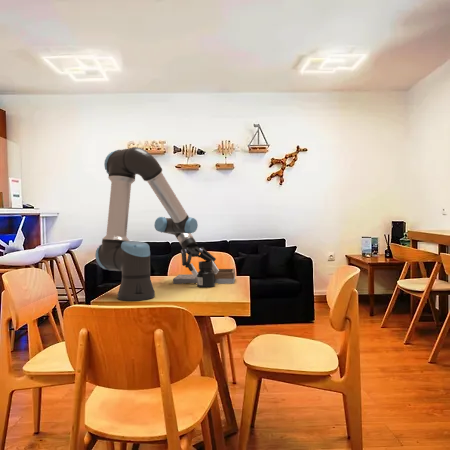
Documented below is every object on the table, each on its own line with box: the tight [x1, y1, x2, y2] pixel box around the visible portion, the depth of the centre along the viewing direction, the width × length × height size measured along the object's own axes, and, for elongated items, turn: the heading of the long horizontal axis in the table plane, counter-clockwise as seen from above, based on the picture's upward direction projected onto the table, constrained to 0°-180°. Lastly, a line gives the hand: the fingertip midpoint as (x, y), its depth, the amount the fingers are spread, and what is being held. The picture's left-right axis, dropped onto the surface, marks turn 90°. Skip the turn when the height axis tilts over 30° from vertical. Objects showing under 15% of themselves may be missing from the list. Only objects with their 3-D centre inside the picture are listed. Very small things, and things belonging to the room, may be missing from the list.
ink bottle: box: [196, 260, 216, 288], centre depth 187 cm, size 10×9×12 cm
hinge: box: [172, 273, 236, 285], centre depth 203 cm, size 18×31×3 cm, turn 86°
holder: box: [212, 268, 236, 279], centre depth 202 cm, size 16×14×3 cm
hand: (207, 273), depth 188 cm, fingers open, 13 cm apart
